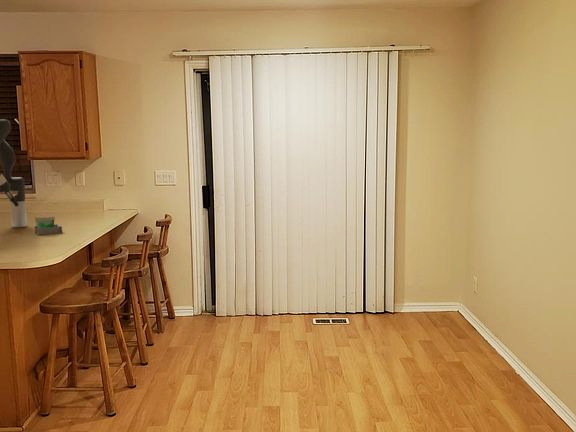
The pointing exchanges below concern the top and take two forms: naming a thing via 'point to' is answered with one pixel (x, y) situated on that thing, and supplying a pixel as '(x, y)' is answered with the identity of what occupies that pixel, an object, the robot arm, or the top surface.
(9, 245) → the top surface
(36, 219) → the food container
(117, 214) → the top surface
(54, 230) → the dock
